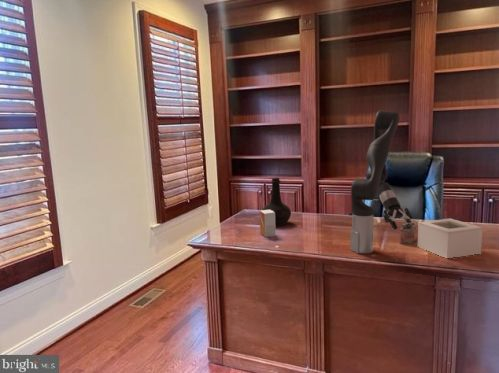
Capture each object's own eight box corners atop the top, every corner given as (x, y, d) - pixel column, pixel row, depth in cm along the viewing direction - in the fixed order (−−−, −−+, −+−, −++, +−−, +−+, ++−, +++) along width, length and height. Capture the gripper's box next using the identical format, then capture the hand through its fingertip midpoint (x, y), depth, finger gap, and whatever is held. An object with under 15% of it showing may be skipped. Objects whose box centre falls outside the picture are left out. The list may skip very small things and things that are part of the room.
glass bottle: (258, 227, 224) (256, 180, 220) (265, 219, 241) (264, 175, 237) (287, 228, 219) (286, 180, 215) (293, 220, 236) (292, 176, 232)
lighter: (402, 244, 182) (403, 224, 181) (398, 242, 186) (398, 223, 184) (416, 243, 185) (417, 222, 183) (412, 241, 188) (412, 221, 186)
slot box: (446, 259, 161) (448, 231, 160) (417, 247, 178) (418, 222, 177) (481, 254, 166) (482, 227, 164) (449, 242, 183) (450, 218, 181)
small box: (260, 233, 211) (259, 210, 209) (270, 232, 213) (270, 209, 211) (264, 237, 203) (264, 213, 201) (276, 235, 205) (275, 212, 203)
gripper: (380, 197, 191) (394, 225, 182) (404, 195, 195) (419, 222, 186) (374, 206, 197) (387, 233, 188) (397, 203, 201) (412, 230, 192)
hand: (403, 227), depth 187 cm, fingers open, 8 cm apart
